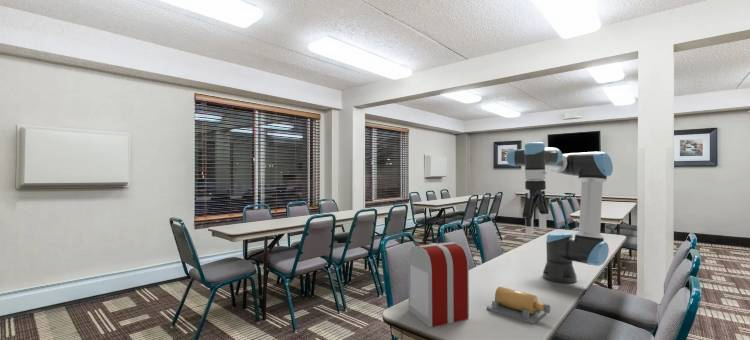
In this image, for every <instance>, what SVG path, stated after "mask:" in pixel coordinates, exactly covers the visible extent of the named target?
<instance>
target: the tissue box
mask: <svg viewBox="0 0 750 340" xmlns="http://www.w3.org/2000/svg"><path fill="white" fill-rule="evenodd" d="M445 242H446V243H445ZM445 242H441V243H436V242H432V243H428V244H419V245H413V246H412V247H410V249H409V253H408V261H407V262H408V311H409V312H410V313H411V314H412V315H414V316H415V317H416V318H418V319H419V320H420V321H421V322H423V323H424V324H425V325H427V326H428V327H430V328H432V327H437V326H443V325H446V324H454V323H455V322H460V321H465V320H468V319H470V299H469V297H470V287H469V285H470V284H469V283H470V281H469V280H470V277H469V275H470V272H469V271H470V270H469V267H470V266H469V265H470V264H469V258H468V254H467V252H466V250H465V248H464V247H463V246H462V245H459V244H458V243H457V242H448V241H445Z"/></svg>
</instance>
